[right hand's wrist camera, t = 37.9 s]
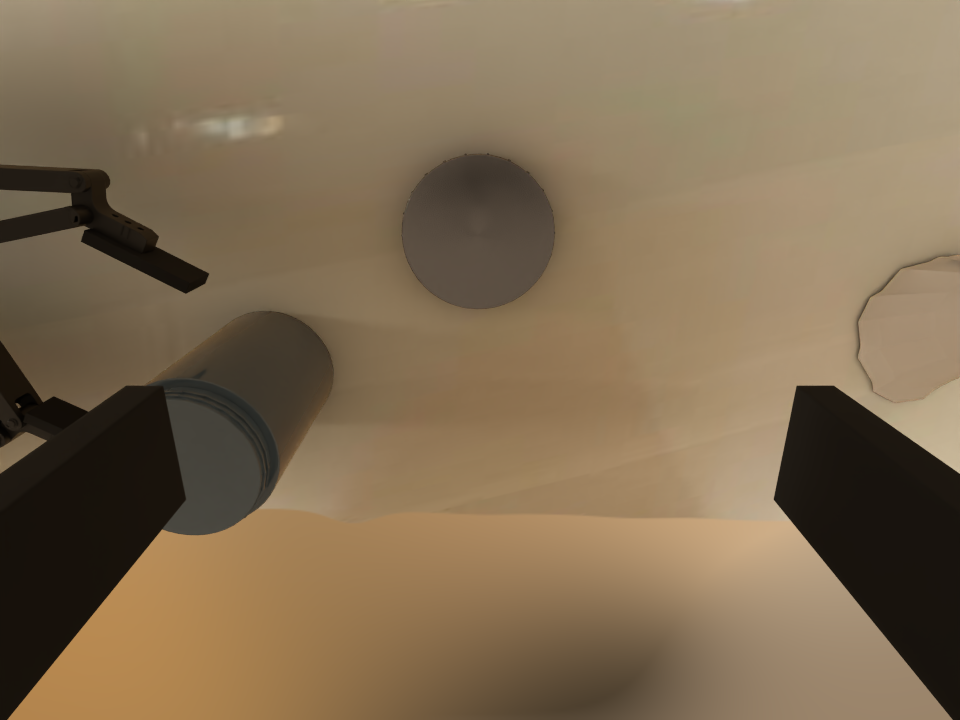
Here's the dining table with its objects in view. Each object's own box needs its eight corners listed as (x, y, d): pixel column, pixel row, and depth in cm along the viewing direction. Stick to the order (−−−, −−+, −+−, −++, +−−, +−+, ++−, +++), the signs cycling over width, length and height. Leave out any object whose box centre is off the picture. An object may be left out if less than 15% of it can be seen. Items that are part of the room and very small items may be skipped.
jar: (281, 287, 44) (187, 357, 30) (357, 386, 47) (304, 493, 33) (185, 351, 46) (54, 446, 32) (264, 443, 49) (176, 568, 35)
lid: (501, 328, 45) (502, 336, 43) (377, 254, 43) (373, 259, 41) (581, 207, 42) (586, 210, 40) (452, 121, 40) (450, 121, 38)
